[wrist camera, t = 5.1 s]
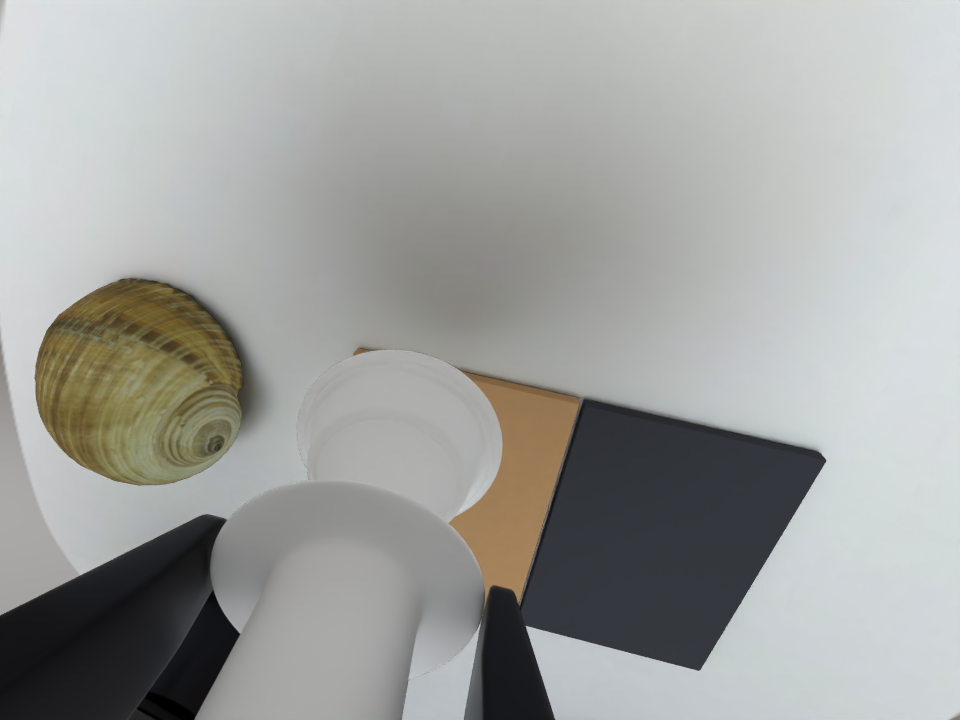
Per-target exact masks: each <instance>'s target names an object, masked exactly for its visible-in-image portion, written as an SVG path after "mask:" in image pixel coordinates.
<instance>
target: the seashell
mask: <svg viewBox="0 0 960 720" xmlns="http://www.w3.org/2000/svg"><path fill="white" fill-rule="evenodd" d="M35 381H36V400H37V406H38V410H39V414H40V417H41V419H42V421H43V423H44V425H45V427H46V429H47V431H48V432H49V434H50V435H51V436H52V438H53V439H54V441H55V442H56V443H57V444H58V446H59V447H60V448H61V449H62V450H63V451H64V452H65V453H66V454H67V455H68V456H69V457H70V458H72V459H73V460H75V461H76V462H77V463H78V464H80V465H81V466H83V467H85V468H87V469H89V470H92V471H94V472H96V473H98V474H100V475H103V476H105V477H107V478H110V479H112V480H114V481H118V482H123V483H129V484H134V485H162V484H169V483H174V482H177V481H180V480H183V479H186V478H189V477H191V476H193V475H195V474H198V473H200V472H202V471H204V470H205V469H207V468H209V467H210V466H212V465H213V464H214V463H215V462H217V461H218V460H219V459H220V458H221V457H222V456H223V455H224V454H225V453H226V452H227V451H228V450H229V448H230V447H231V445H232V444H233V442H234V441H235V439H236V437H237V435H238V432H239V429H240V424H241V418H242V410H241V408H240V403H239V401H238V397H237V394H238V392H239V390H240V389H241V388H242V387H243V375H242V367H241V362H240V359H239V357H238V355H237V353H236V352H235V349H234V346H233V345H232V340H231V338H230V337H229V335H228V334H226V333H225V332H224V331H223V330H222V328H221V326H220V323H219V322H218V321H217V320H216V319H215V318H213V317H212V316H211V315H210V314H208V313H207V311H206V310H205V308H204V307H203V306H201V305H199V304H197V303H196V302H195V301H194V299H193V298H192V296H190V295H186V294H184V293H183V292H182V291H180V290H179V289H173V288H171V287H170V286H169V285H168V284H160V283H158V282H155V281H146V280H142V279H141V280H135V279H121V280H119V281H118V282H114V283H111V284H108V285H106V286H104V287H101V288H99V289H97V290H95V291H93V292H92V293H90V294H88V295H87V296H85V297H83V298H82V299H80V300H79V301H77V302H76V303H74V304H73V305H72V306H70V307H69V308H68V309H66V310H65V311H64V312H62V313H61V314H59V316H58V317H57V318H56V319H55V321H54V322H53V323H52V324H51V326H50V327H49V328H48V330H47V331H46V334H45V336H44V339H43V341H42V344H41V347H40V349H39V353H38V357H37V362H36V371H35Z"/></svg>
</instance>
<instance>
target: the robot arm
mask: <svg viewBox="0 0 960 720" xmlns="http://www.w3.org/2000/svg"><path fill="white" fill-rule="evenodd" d="M226 521H227V520H226V519H224V518H221V517H217V516H213V515H207V514H206V515H202V516H199V517H197V518H195V519H193V520H191V521H189V522H187V523H185V524H183V525H181V526H179V527H177V528H175V529H173V530H171V531H169V532H167V533H165V534H163V535H161V536H159V537H157V538H155V539H153V540H151V541H149V542H147V543H145V544H143V545H141V546H139V547H137V548H135V549H133V550H131V551H129V552H127V553H125V554H123V555H121V556H119V557H117V558H115V559H113V560H111V561H109V562H107V563H105V564H103V565H101V566H99V567H97V568H95V569H93V570H91V571H89V572H87V573H85V574H83V575H81V576H79V577H77V578H75V579H73V580H71V581H68V582H66V583H64V584H62V585H60V586H58V587H56V588H55V589H53V590H50V591H48V592H47V593H44V594H42V595H40V596H38V597H37V598H34V599H33V600H31V601H28V602H26V603H25V604H22V605H20V606H18V607H16V608H14V609H12V610H10V611H9V612H6V613H4V614H2V615H1V616H0V720H194V719H195V717H196V715H197V713H198V712H199V710H200V708H201V706H202V704H203V702H204V701H205V699H206V697H207V695H208V693H209V691H210V689H211V688H212V686H213V684H214V682H215V680H216V678H217V677H218V675H219V673H220V671H221V669H222V667H223V665H224V664H225V662H226V660H227V658H228V656H229V654H230V653H231V651H232V649H233V647H234V645H235V643H236V641H237V640H238V638H239V636H240V633H239V632H238V631H237V630H236V629H235V627H234V626H233V625H232V624H231V622H230V621H229V620H228V618H227V617H226V615H225V614H224V612H223V611H222V609H221V607H220V605H219V603H218V601H217V598H216V596H215V593H214V590H213V586H212V581H211V573H210V561H211V554H212V549H213V546H214V543H215V540H216V538H217V536H218V534H219V532H220V530H221V528H222V527H223V525H224V524H225V523H226ZM464 720H555V718H554V714H553V711H552V708H551V705H550V702H549V699H548V696H547V692H546V689H545V686H544V683H543V680H542V677H541V674H540V670H539V667H538V664H537V661H536V658H535V655H534V651H533V648H532V645H531V642H530V639H529V636H528V633H527V629H526V626H525V623H524V620H523V617H522V614H521V610H520V607H519V604H518V601H517V598H516V595H515V593H514V591H513V590H511V589H508V588H504V587H500V586H496V585H493V586H491V587H490V589H489V592H488V596H487V600H486V604H485V608H484V612H483V616H482V621H481V626H480V631H479V636H478V642H477V648H476V653H475V659H474V664H473V670H472V676H471V681H470V687H469V692H468V698H467V703H466V709H465V716H464Z"/></svg>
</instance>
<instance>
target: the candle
mask: <svg viewBox="0 0 960 720" xmlns="http://www.w3.org/2000/svg"><path fill="white" fill-rule="evenodd" d="M297 440H298V446H299V450H300V454H301V457H302V460H303V462H304V464H305V467H306V469H307V474H308V481H301V482H295V483H291V484H287V485H283V486H280V487H277V488H274V489H271V490H269V491H266V492H264V493H262V494H260V495H258V496H256V497H255V498H253V499H251V500H250V501H248V502H247V503H245V504H244V505H243V506H241V507H240V508H239V509H238V510H237V511H236V512H235V513H233V514H232V516H231V517H230V518H229V519H228V520H227V521H226V523H225V524H224V525H223V527H222V528H221V530H220V532H219V534H218V536H217V538H216V540H215V543H214V546H213V549H212V554H211V561H210V573H211V581H212V586H213V590H214V593H215V596H216V598H217V601H218V603H219V605H220V607H221V609H222V611H223V612H224V614H225V615H226V617H227V618H228V620H229V621H230V622H231V624H232V625H233V626H234V627H235V629H236V630H237V631H238V632H239V633H240V636H239V638H238V640H237V641H236V643H235V645H234V647H233V649H232V651H231V653H230V654H229V656H228V658H227V660H226V662H225V664H224V665H223V667H222V669H221V671H220V673H219V675H218V677H217V678H216V680H215V682H214V684H213V686H212V688H211V689H210V691H209V693H208V695H207V697H206V699H205V701H204V702H203V704H202V706H201V708H200V710H199V712H198V713H197V715H196V717H195V719H194V720H402V714H403V708H404V703H405V697H406V691H407V685H408V679H410V678H414V677H417V676H420V675H423V674H425V673H428V672H430V671H432V670H434V669H436V668H438V667H440V666H442V665H444V664H445V663H447V662H448V661H450V660H451V659H452V658H454V657H455V656H456V655H457V654H458V653H459V652H461V651H462V650H463V648H464V647H465V646H466V645H467V644H468V643H469V641H470V640H471V639H472V637H473V636H474V634H475V632H476V631H477V629H478V627H479V624H480V622H481V619H482V615H483V611H484V605H485V587H484V581H483V576H482V573H481V570H480V567H479V564H478V562H477V560H476V558H475V556H474V554H473V552H472V551H471V549H470V548H469V546H468V545H467V543H466V542H465V541H464V539H463V538H462V537H461V536H460V534H459V533H458V532H457V531H456V530H455V529H454V528H453V527H452V526H451V525H450V524H449V522H450V521H451V520H452V519H453V518H454V517H455V516H457V515H459V514H461V513H463V512H464V511H466V510H467V509H469V508H470V507H472V506H473V505H474V504H475V503H476V502H477V501H479V500H480V499H481V498H482V496H483V495H484V494H485V493H486V492H487V490H488V489H489V488H490V486H491V485H492V483H493V481H494V479H495V477H496V475H497V472H498V470H499V466H500V463H501V458H502V433H501V428H500V424H499V421H498V418H497V416H496V413H495V411H494V409H493V407H492V405H491V403H490V402H489V400H488V399H487V397H486V396H485V394H484V393H483V392H482V391H481V389H480V388H479V387H478V386H477V385H476V384H475V383H474V382H473V381H472V380H471V379H470V378H468V377H467V376H466V375H465V374H463V373H462V372H461V371H459V370H458V369H456V368H455V367H453V366H451V365H449V364H448V363H446V362H444V361H441V360H439V359H437V358H434V357H431V356H428V355H425V354H422V353H417V352H412V351H406V350H377V351H370V352H365V353H361V354H358V355H355V356H352V357H350V358H347V359H345V360H343V361H341V362H339V363H337V364H336V365H334V366H333V367H331V368H330V369H328V370H327V371H326V372H325V373H323V374H322V375H321V376H320V377H319V378H318V379H317V380H316V381H315V383H314V384H313V385H312V386H311V388H310V389H309V391H308V393H307V394H306V396H305V398H304V400H303V402H302V405H301V408H300V411H299V416H298V422H297Z"/></svg>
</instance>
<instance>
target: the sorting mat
mask: <svg viewBox="0 0 960 720" xmlns="http://www.w3.org/2000/svg"><path fill="white" fill-rule="evenodd" d="M365 352H370V351H369V350H365V349H360V348H358V349H357V350H356V351H355V352H354V354H353V356H355V355H358V354H361V353H365ZM461 372H462V371H461ZM462 373H463V374H465V375H466V376H467V377H468V378H470V379H471V380H472V381H473V382H474V383H475V384H476V385H477V386H478V387H479V388H480V389H481V391H482V392H483V393H484V394H485V396H486V397H487V399H488V400H489V402H490V403H491V405H492V407H493V409H494V411H495V413H496V416H497V418H498V421H499V424H500V428H501V433H502V458H501V463H500V466H499V470H498V472H497V475H496V477H495V479H494V481H493V483H492V485H491V486H490V488H489V489H488V490H487V492H486V493H485V494H484V495H483V496H482V498H481V499H480V500H479V501H477V502H476V503H475V504H474V505H473V506H472V507H470V508H469V509H467V510H466V511H464V512H463V513H461V514H459V515H457V516H455V517H454V518H453V519H452V520H451V521H450V522H449V524H450V525H451V526H452V527H453V528H454V529H455V530H456V531H457V532H458V533H459V534H460V536H461V537H462V538H463V539H464V541H465V542H466V543H467V545H468V546H469V548H470V549H471V551H472V552H473V554H474V556H475V558H476V560H477V562H478V564H479V567H480V570H481V573H482V576H483V581H484V587H485V604H486V600H487V596H488V592H489V589H490V587H491V586H493V585H496V586H500V587H504V588H508V589H511V590H513V591H514V593H515V595H516V598H517V601H518V604H519V601H520V598H521V595H522V592H523V588H524V585H525V582H526V579H527V575H528V572H529V569H530V565H531V562H532V559H533V556H534V552H535V549H536V546H537V543H538V539H539V536H540V533H541V529H542V526H543V523H544V520H545V516H546V513H547V510H548V507H549V503H550V500H551V497H552V493H553V490H554V487H555V484H556V480H557V477H558V474H559V471H560V467H561V464H562V461H563V457H564V454H565V451H566V448H567V444H568V441H569V438H570V435H571V431H572V428H573V425H574V421H575V418H576V415H577V412H578V408H579V405H580V404H579V398H577V397H573V396H568V395H564V394H559V393H555V392H551V391H546V390H542V389H537V388H533V387H528V386H524V385H520V384H515V383H511V382H506V381H502V380H497V379H493V378H489V377H484V376H480V375H475V374H471V373H466V372H462ZM825 462H826V459H825V458H824V457H823V456H822V454H821V453H819V452H816V451H811V450H807V449H802V448H798V447H793V446H789V445H785V444H780V443H776V442H771V441H767V440H762V439H758V438H754V437H749V436H745V435H740V434H736V433H731V432H727V431H723V430H718V429H714V428H709V427H705V426H700V425H696V424H692V423H687V422H683V421H678V420H674V419H670V418H665V417H661V416H656V415H652V414H647V413H643V412H639V411H634V410H630V409H625V408H621V407H616V406H612V405H608V404H603V403H599V402H594V401H590V400H584V402H583V405H582V408H581V411H580V415H579V418H578V421H577V424H576V428H575V431H574V434H573V437H572V440H571V444H570V447H569V450H568V453H567V457H566V460H565V463H564V466H563V470H562V473H561V476H560V479H559V483H558V486H557V489H556V492H555V496H554V499H553V502H552V505H551V509H550V512H549V515H548V518H547V521H546V525H545V528H544V531H543V534H542V538H541V541H540V544H539V547H538V551H537V554H536V557H535V560H534V564H533V567H532V570H531V573H530V577H529V580H528V583H527V586H526V590H525V593H524V596H523V599H522V602H521V606H520V610H521V614H522V617H523V620H524V623H525V626H529V627H533V628H537V629H541V630H544V631H548V632H552V633H556V634H560V635H564V636H567V637H571V638H575V639H579V640H583V641H587V642H590V643H594V644H598V645H602V646H606V647H610V648H614V649H617V650H621V651H625V652H629V653H633V654H637V655H640V656H644V657H648V658H652V659H656V660H660V661H663V662H667V663H671V664H675V665H679V666H683V667H686V668H690V669H694V670H698V671H700V670H701V668H702V666H703V665H704V663H705V661H706V660H707V658H708V656H709V655H710V653H711V651H712V650H713V648H714V646H715V645H716V643H717V641H718V640H719V638H720V636H721V635H722V633H723V631H724V630H725V628H726V626H727V625H728V623H729V621H730V620H731V618H732V617H733V615H734V613H735V612H736V610H737V608H738V607H739V605H740V603H741V602H742V600H743V598H744V597H745V595H746V593H747V592H748V590H749V588H750V587H751V585H752V583H753V582H754V580H755V578H756V577H757V575H758V573H759V572H760V570H761V568H762V567H763V565H764V563H765V562H766V560H767V558H768V557H769V555H770V554H771V552H772V550H773V549H774V547H775V545H776V544H777V542H778V540H779V539H780V537H781V535H782V534H783V532H784V530H785V529H786V527H787V525H788V524H789V522H790V520H791V519H792V517H793V515H794V514H795V512H796V510H797V509H798V507H799V505H800V504H801V502H802V500H803V499H804V497H805V495H806V494H807V492H808V491H809V489H810V487H811V486H812V484H813V482H814V481H815V479H816V477H817V476H818V474H819V472H820V471H821V469H822V467H823V466H824V464H825ZM484 608H485V605H484ZM483 612H484V611H483Z"/></svg>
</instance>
